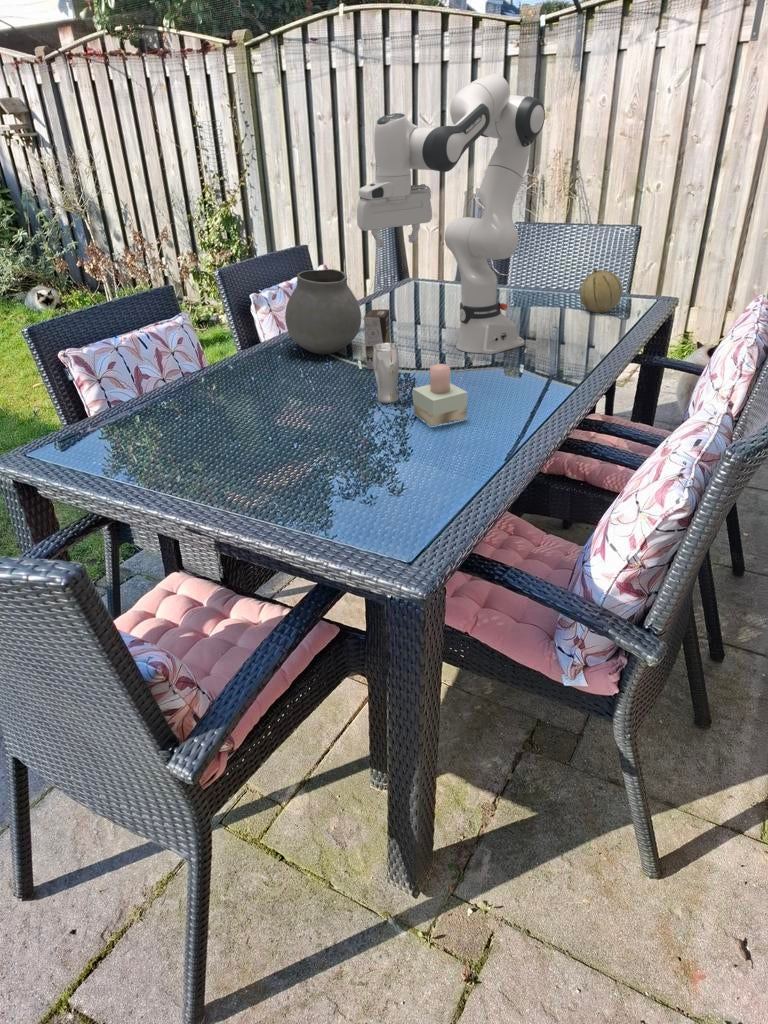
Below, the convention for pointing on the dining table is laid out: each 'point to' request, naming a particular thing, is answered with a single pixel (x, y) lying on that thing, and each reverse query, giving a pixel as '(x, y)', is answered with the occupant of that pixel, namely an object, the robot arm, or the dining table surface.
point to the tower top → (439, 399)
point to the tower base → (440, 416)
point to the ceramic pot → (322, 311)
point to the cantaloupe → (601, 291)
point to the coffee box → (375, 332)
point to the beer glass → (386, 371)
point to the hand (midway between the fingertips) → (396, 244)
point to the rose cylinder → (440, 378)
